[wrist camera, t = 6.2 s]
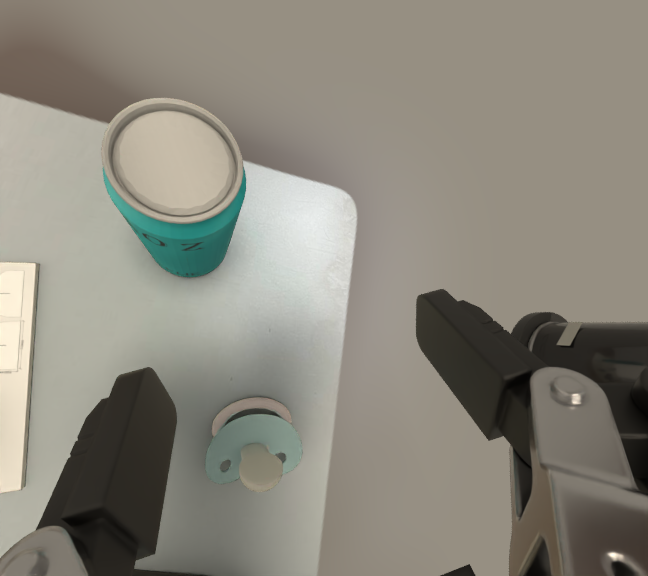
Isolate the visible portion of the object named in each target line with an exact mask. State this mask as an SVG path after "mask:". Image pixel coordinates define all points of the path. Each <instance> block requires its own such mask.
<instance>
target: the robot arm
mask: <svg viewBox="0 0 648 576" xmlns="http://www.w3.org/2000/svg"><path fill="white" fill-rule="evenodd" d="M416 337H417V341H418V344H419V346H420V348H421V350H422V352H423V353H424V355H425V356H426V357H427V358H428V360H429V361H430V363H431V364H432V365H433V367H434V368H435V369H436V370H437V372H438V373H439V375H440V376H441V377H442V379H443V380H444V381H445V383H446V384H447V385H448V387H449V388H450V389H451V391H452V392H453V393H454V395H455V396H456V397H457V399H458V400H459V401H460V403H461V404H462V405H463V407H464V408H465V409H466V411H467V412H468V413H469V415H470V416H471V417H472V419H473V420H474V422H475V423H476V424H477V426H478V427H479V428H480V430H481V431H482V432H483V434H484V435H485V436H486V438H487V439H488V440H493V439H496V438H499V437H502V436H504V437H505V438H506V439H507V440H508V442H509V443H510V444H511V445H510V449H509V455H510V482H511V503H512V504H511V505H512V506H511V507H512V536H511V543H510V554H509V576H648V322H602V323H601V322H592V323H590V322H588V323H583V322H569V323H559V322H545V323H542V324H540V325H539V326H537V327H536V328H535V329H534V331H533V332H532V334H531V335H530V338H529V340H528V343H527V348H526V347H525V346H524V345H523V344H522V343H521V342H519V341H518V340H517V339H516V338H515V337H514V336H512V335H511V334H510V333H509V332H507V330H504V329H503V327H502V326H501V325H499V324H498V323H497V322H496V321H493V319H492V318H491V317H490V316H489V315H488V314H487V313H485V312H484V311H483V310H482V309H481V308H479V307H477V306H475V305H472V304H470V303H468V302H466V301H464V300H462V301H456V300H455V299H454V298H453V297H452V296H451V295H450V294H449V293H448V292H447V291H445V290H443V289H440V290H436V291H432V292H429V293H425V294H421V295H419V296H418V297H417V304H416ZM176 424H177V414H176V408H175V405H174V402H173V401H172V399H171V397H170V396H169V394H168V392H167V391H166V389H165V387H164V386H163V384H162V382H161V381H160V379H159V378H158V376H157V374H156V373H155V371H154V370H153V369H152V368H150V367H147V368H143V369H140V370H136V371H132V372H129V373H125V374H121V375H119V376H118V377H117V379H116V381H115V383H114V386H113V388H112V391H111V393H110V396H109V398H105V399H102V400H101V401H100V402H99V403H98V404H97V406H96V407H95V408H94V409H93V410H92V412H91V413H90V414H89V415H88V416H87V418H86V420H85V422H84V424H83V426H82V428H81V431H80V433H79V435H78V441H76V442H75V444H74V446H73V449H72V451H71V453H70V455H71V457H70V458H68V460H67V462H66V464H65V466H64V469H63V471H62V473H61V475H60V478H59V480H58V482H57V484H56V487H55V489H54V491H53V493H52V496H51V498H50V500H49V502H48V504H47V507H46V509H45V511H44V513H43V516H42V518H41V520H40V522H39V525H38V526H37V528H36V530H35V531H34V532H32V533H30V534H29V535H27V536H26V537H24V538H23V539H21V540H20V541H19V542H17V543H16V544H15V545H14V546H12V547H11V548H10V549H9V550H8V551H7V552H6V553H5V554H4V555H3V556H2V557H1V558H0V576H132V575H133V570H134V565H135V561H136V560H139V559H142V558H144V557H147V556H150V555H153V554H155V551H156V545H157V539H158V533H159V527H160V521H161V515H162V509H163V503H164V497H165V491H166V485H167V479H168V473H169V467H170V460H171V454H172V448H173V442H174V436H175V430H176ZM441 576H475V574H474V572H473V570H472V568H471V566H470V564H469V565H466V566H464V567H461V568H459V569H456V570H454V571H451V572H449V573H446V574H444V575H441Z"/></svg>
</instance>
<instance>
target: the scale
mask: <svg viewBox="0 0 648 576" xmlns="http://www.w3.org/2000/svg"><path fill="white" fill-rule="evenodd" d="M132 576H203V575H191V574H178V573H166V572H154V571H142V570H133V575H132Z"/></svg>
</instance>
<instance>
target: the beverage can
mask: <svg viewBox="0 0 648 576" xmlns="http://www.w3.org/2000/svg"><path fill="white" fill-rule="evenodd" d="M101 155H102V163H103V175H104V182H105V185H106V188H107V191H108V193H109V195H110V197H111V199H112V201H113V202H114V204H115V205H116V207H117V208H118V209H119V211H120V212H121V214H122V215H123V216H124V218H125V219H126V221H127V222H128V223H129V225H130V226H131V228H132V229H133V230H134V232H135V233H136V234H137V236H138V237H139V239H140V240H141V241H142V243H143V244H144V246H145V247H146V248H147V250H148V251H149V253H150V254H151V255H152V257H153V258H154V259H155V261H156V262H157V263H158V264H159V265H160V266H161V267H162V268H164V269H165V270H166V271H168V272H170V273H172V274H175V275H178V276H183V277H197V276H201V275H204V274H207V273H209V272H211V271H212V270H214V269H215V268H216V267H217V266H218V265H219V264H220V263H221V262H222V260H223V259H224V257H225V254H226V252H227V249H228V246H229V243H230V240H231V237H232V234H233V231H234V228H235V225H236V222H237V219H238V215H239V212H240V209H241V206H242V203H243V200H244V197H245V191H246V176H245V170H244V167H243V161H242V156H241V153H240V150H239V147H238V144H237V143H236V140H235V138H234V137H233V135H232V134H231V132H230V131H229V130H228V128H227V127H226V126H225V125H224V124H223V123H222V122H221V121H220V120H219V119H218V118H217V117H215V116H214V115H213V114H211V113H210V112H208V111H207V110H205V109H203V108H201V107H199V106H197V105H195V104H192V103H189V102H187V101H183V100H178V99H172V98H152V99H148V100H143V101H140V102H137V103H134V104H132V105H130V106H129V107H127V108H125V109H123V110H122V111H121V112H120V113H119V114H117V115H116V116H115V118H114V119H113V120H112V121H111V123H110V124H109V126H108V128H107V130H106V132H105V134H104V138H103V141H102V152H101Z"/></svg>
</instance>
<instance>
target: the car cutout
mask: <svg viewBox="0 0 648 576" xmlns="http://www.w3.org/2000/svg"><path fill="white" fill-rule="evenodd" d="M38 273H39V264H37V263H19V262H0V493H6V492H12V491H18V490H22V489H23V488H24V487H25V474H26V459H27V443H28V428H29V412H30V397H31V381H32V366H33V350H34V335H35V319H36V304H37V289H38Z"/></svg>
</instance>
